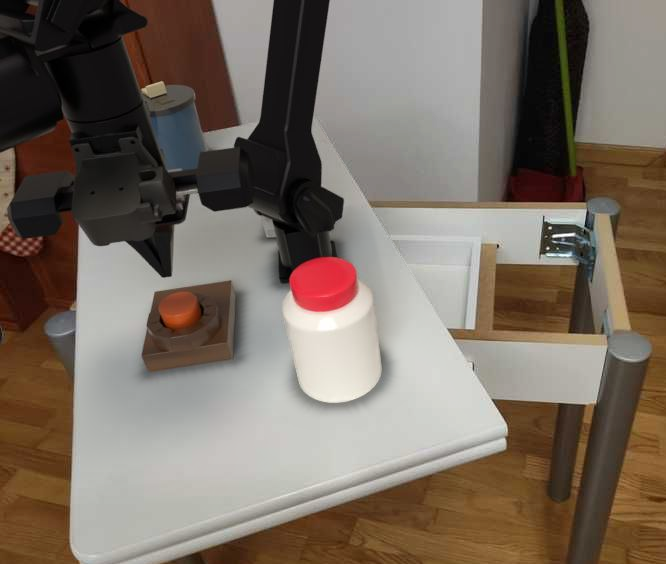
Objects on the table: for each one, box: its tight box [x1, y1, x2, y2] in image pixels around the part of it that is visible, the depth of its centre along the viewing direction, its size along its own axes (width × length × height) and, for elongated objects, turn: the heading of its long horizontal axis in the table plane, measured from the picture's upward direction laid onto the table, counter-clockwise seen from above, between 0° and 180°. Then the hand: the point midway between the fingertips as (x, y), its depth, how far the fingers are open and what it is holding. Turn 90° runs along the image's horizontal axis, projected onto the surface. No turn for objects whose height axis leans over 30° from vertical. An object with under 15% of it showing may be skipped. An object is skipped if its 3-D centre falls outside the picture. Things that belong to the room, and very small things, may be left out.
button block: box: [141, 280, 237, 373], centre depth 65 cm, size 10×8×4 cm
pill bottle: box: [281, 257, 383, 404], centre depth 57 cm, size 8×8×11 cm
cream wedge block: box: [140, 80, 167, 98], centre depth 90 cm, size 3×2×2 cm
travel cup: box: [141, 84, 209, 170], centre depth 92 cm, size 9×9×10 cm
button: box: [158, 292, 202, 329], centre depth 62 cm, size 4×4×2 cm
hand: (167, 274), depth 59 cm, fingers closed
